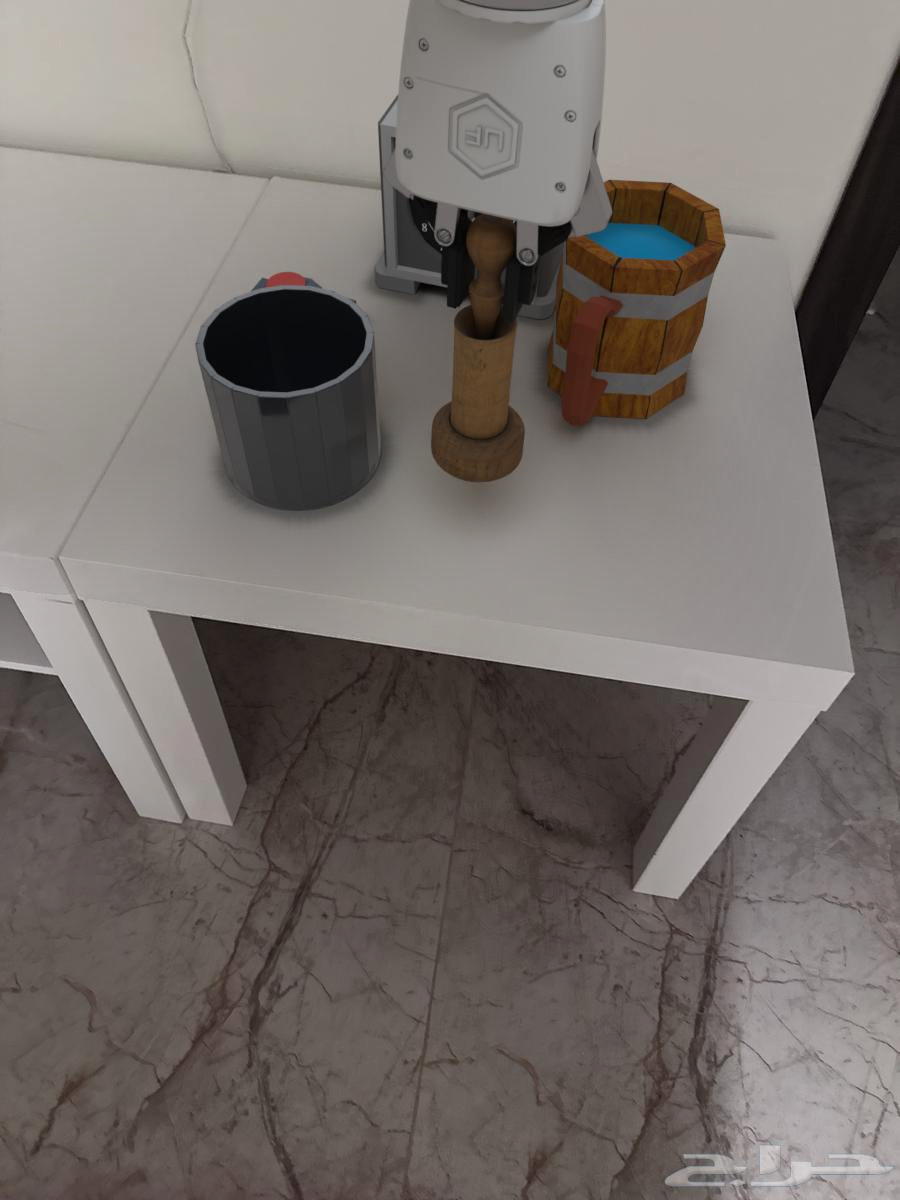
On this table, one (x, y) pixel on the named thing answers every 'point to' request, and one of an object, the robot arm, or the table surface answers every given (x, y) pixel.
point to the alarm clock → (434, 240)
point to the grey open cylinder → (293, 394)
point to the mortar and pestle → (482, 369)
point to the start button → (286, 279)
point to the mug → (633, 302)
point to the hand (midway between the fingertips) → (487, 300)
